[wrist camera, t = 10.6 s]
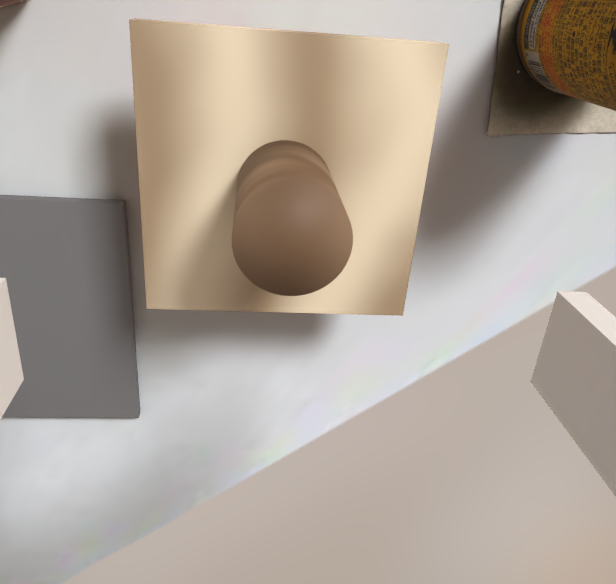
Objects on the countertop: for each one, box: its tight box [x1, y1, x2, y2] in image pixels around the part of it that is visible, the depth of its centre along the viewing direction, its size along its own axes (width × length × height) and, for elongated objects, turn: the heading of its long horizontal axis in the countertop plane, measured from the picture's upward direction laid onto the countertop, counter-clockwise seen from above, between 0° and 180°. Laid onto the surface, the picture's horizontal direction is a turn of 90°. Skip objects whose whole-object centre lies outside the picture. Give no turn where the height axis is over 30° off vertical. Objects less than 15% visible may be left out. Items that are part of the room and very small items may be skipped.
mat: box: [0, 195, 140, 418], centre depth 32 cm, size 14×14×1 cm
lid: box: [129, 19, 449, 316], centre depth 22 cm, size 12×12×7 cm
